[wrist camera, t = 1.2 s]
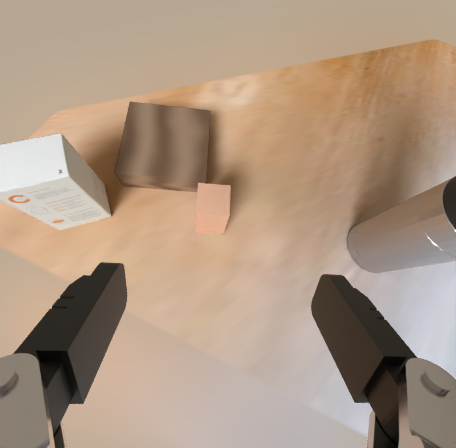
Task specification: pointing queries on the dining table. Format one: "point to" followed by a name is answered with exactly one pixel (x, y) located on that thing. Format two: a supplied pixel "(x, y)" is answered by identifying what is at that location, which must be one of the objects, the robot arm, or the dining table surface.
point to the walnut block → (164, 147)
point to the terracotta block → (212, 208)
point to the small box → (51, 182)
